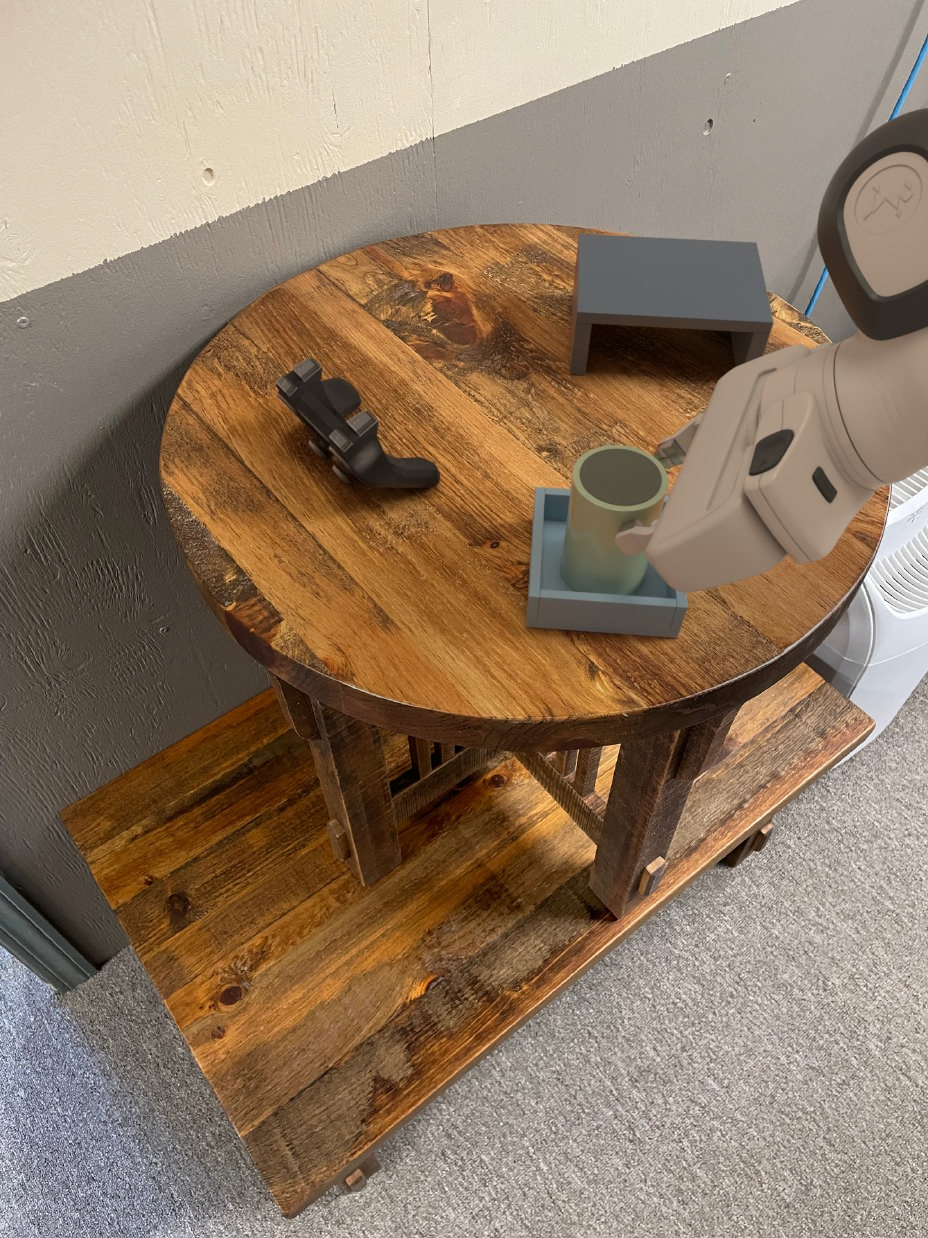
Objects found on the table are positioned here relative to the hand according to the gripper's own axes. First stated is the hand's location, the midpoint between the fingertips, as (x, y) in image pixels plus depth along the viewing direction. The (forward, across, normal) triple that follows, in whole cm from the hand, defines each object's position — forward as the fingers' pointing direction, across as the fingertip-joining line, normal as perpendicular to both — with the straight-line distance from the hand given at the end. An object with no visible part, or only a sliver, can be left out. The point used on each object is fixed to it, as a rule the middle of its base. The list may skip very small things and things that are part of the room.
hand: (641, 497), depth 63 cm
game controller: (+25, -4, -12) cm, 28 cm away
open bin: (+8, +1, +5) cm, 9 cm away
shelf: (+11, -32, +2) cm, 34 cm away
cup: (+7, +1, +5) cm, 8 cm away
